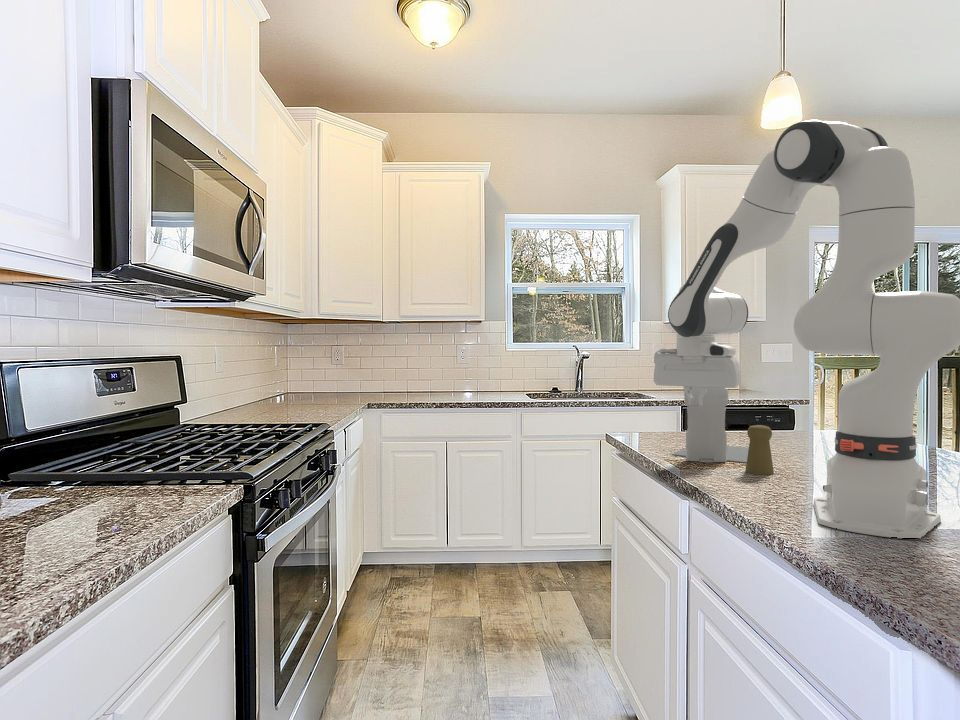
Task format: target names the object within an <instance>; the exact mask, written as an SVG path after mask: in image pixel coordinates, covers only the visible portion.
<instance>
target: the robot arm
mask: <svg viewBox="0 0 960 720" xmlns="http://www.w3.org/2000/svg"><path fill="white" fill-rule="evenodd" d="M751 177H752V178H751V179H750V181H749V183H748V185H747V187H746V189H745V192H744V194H743V195H742V198H741V200H740V202H739V205H738V206H737V208H736V209H735V211H734V212H733V214H732V215H731V216H730V218H729V219H728V220H727V221H726V222H724V224H723V225H721V226H720V227H719V228H717V229H716V231H715V232H714V233H713V235H712V236H711V237H710V239H709V241H708V242H707V244H706V246H705V247H704V250H703V251H702V253H701V254H700V256H699V258H698V260H697V261H696V263H695V265H694V267H693V269H692V271H691V273H690V274H689V276H688V277H687V279H686V281H685V283H684V284H683V285H682V286H680V288H679V291H678V293H677V294H676V295H675V296H674V298H672V300H671V302H670V305H669V307H668V310H667V311H668V312H667V318H668V321H669V324H670V326H671V328H672V329H673V330H674V331H675V333H676V348H668V349H667V348H660V349H659V350H657V351H656V352H655V353H654V354H653V362H654V369H653V383H654V384H655V385H656V386H662V387H664V386H667V387H670V386H671V387H683V392H685V394H686V395H687V397H688V398H689V405H698V406H702V405H703V397H704V396H705V394H706V393H707V387H719V388H725V389H736V388H738V387H739V386H741V381H742V380H741V378H742V377H741V368H740V363H739V361H738V359H737V358H736V357H735V355H736V351H737V350H736V347H734V346H732V345H727V344H724V343H722V342H717V341H716V336H718V335H733V334H738V333H740V332H741V331H742V330H743V328H745V326H746V325H747V322H748V320H749V308H748V307H749V306H748V303H747V302H746V300H745V299H744V298H743V297H742V296H741V295H739V294H736V293H731V292H728V291H725V290H721V288H718V287H717V284H718V283H719V281H720V279H721V277H722V276H723V274H724V272H725V271H726V269H727V267H729V266H730V264H731V263H733V262H734V261H736V260H737V259H738V258H741V257H742V256H746V255H747V254H749V253H752V252H756V251H758V250H762V249H765V248H768V247H770V246H772V245H775V244H776V243H778V242H780V241H781V240H782V239H783V238H784V237H785V235H786V234H787V233H788V231H789V230H790V229H791V227H792V224H793V222H794V220H795V219H796V216H797V214H798V212H799V209H800V208H801V205H802V203H803V201H804V198H806V197H805V196H806V195H807V194H808V193H809V191H811V189H812V188H814V187H816V186H818V185H819V186H826V187H834V188H835V190H836V191H837V194H838V201H839V202H838V203H839V204H838V241H837V252H836V260H835V263H834V267H833V269H832V271H831V274H830V275H829V277H828V279H827V281H826V282H825V283H824V284H823V286H822V287H821V288H819V290H818V291H817V292H816V293H815V294H814V295H813V296H812V297H810V298H809V299H807V300H805V302H804V303H802V305H800V307H799V309H798V310H797V311H796V314H795V315H794V316H795V317H794V319H793V331H794V335H795V338H796V341H797V342H798V343H799V344H800V346H802V347H803V348H804V349H805V350H806V351H809V352H814V353H815V352H816V353H819V354H824V355H831V356H876V357H879V358H880V359H879V364H878V366H877V367H876V368H875V369H874V370H872V371H869V372H866V373H864V374H861V375H859V376H856V377H855V378H852V379H850V380H848V381H847V382H846V383H844V384H843V386H842V387H841V388H840V390H839V392H838V404H837V405H838V406H837V407H838V415H837V416H838V417H837V418H838V421H837V425H838V427H837V429H838V430H836V431H835V437H834V451H835V452H836V453H835V454H834V455H833V456H832V457H831V458H829V459H827V461H826V484H825V483H824V484H823V485H822V491H823V492H825V493H826V497H825V496H823V497H815V498H813V507H814V510H815V516H816V519H817V523H818V524H820V525H822V526H825V527H829V528H833V529H836V528H837V530H840V531H841V530H842V531H847V532H852V533H856V534H863V535H870V536H877V537H885V538H891V537H897V538H896V539H902V538H920V539H922V538H923V537H924V536H926V535H927V534H928V533H929V532H930V531H931V530H933V528H935V527H936V526H937V525H938V524H939V523H941V521H942V520H941V515H940V513H937V512H934V511H930V510H928V508H927V507H928V505H929V494H928V492H927V489H928V488H929V483H928V480H927V470H926V469H925V468H923V466H921V465H920V464H919V463H918V462H917V460H916V459H915V458H916V456H917V444H918V443H917V439H916V436H915V435H914V434H913V433H914V432H913V430H914V412H915V401H916V396H917V392H918V389H919V386H920V383H921V381H922V379H923V378H924V377H925V374H926V373H927V372H928V371H929V370H930V369H931V367H933V365H935V363H937V362H938V361H939V360H940V359H942V358H943V357H944V356H946V355H947V354H949V353H951V352H953V351H954V350H955V349H957V348H958V347H959V346H960V298H959V297H958V296H956V295H955V294H951V293H944V292H938V291H936V292H935V291H925V290H913V291H912V290H911V291H895V292H894V291H893V292H891V291H890V292H872V286H873V283H874V281H875V280H876V279H877V278H879V277H881V276H883V275H885V274H887V273H890V272H892V271H893V270H896V269H897V268H899V267H901V266H902V265H904V264H905V263H906V262H908V261H909V260H910V258H911V257H912V256H913V254H914V250H915V226H916V225H915V224H916V223H915V220H916V219H915V217H916V216H915V213H916V212H915V210H916V209H915V208H916V206H915V205H916V204H915V189H914V182H913V181H914V180H913V179H914V178H913V175H912V169H911V166H910V162H909V159H908V156H907V155H906V153H905V152H903V151H902V150H900V149H898V148H894V147H891V146H889V145H888V143H887V141H886V139H885V138H884V136H882V135H881V134H880V133H878V132H877V131H875V130H873V129H870V128H868V127H860V126H856V125H852V124H848V123H847V122H842V121H829V120H828V121H827V120H824V121H823V120H819V119H808V120H804V121H803V120H802V121H799V122H796V123H793V124H792V125H790V126H788V127H787V128H786V129H785V130H783V132H782V133H781V135H780V136H779V138H778V139H777V141H776V143H775V146H774V150H771V151H769V152H768V153H767V154H766V155H765V156H764V157H763V159H762V160H761V162H760V164H759V166H758V167H757V168H756V170H755V171H754V173H753V175H752V176H751ZM692 387H699V391H702V392H701V394H700V395H699V397H698V398H693V396H692V394H691V392H690V391H691V390H692ZM934 526H935V527H934ZM928 531H929V532H928ZM927 532H928V533H927ZM926 533H927V534H926ZM922 536H923V537H922ZM921 537H922V538H921Z"/></svg>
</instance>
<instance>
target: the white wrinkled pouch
mask: <svg viewBox="0 0 960 720" xmlns="http://www.w3.org/2000/svg"><path fill="white" fill-rule="evenodd" d="M683 392H684V391H683ZM690 392H691V394H692V396H693V398H698V397H699V395H700V394H701V392H702V391H699V387H692V390H691V391H690ZM683 396H684V397H683V399H684V404H685V405H686V406H687V407H686V412H687V413H686V415H687V421H686V422H687V423H686V426H687V429H686V432H685V448H686V457H685V461H686V462H693V463H694V462H695V463H697V462H698V463H706V464H707V463H715V464H716V463H720V464H721V463H723V464H725V463H727V462H728V461H727V457H726V452H727V446H728V445H727V439H728V438H727V437H728V436H727V432H726V428H725V427H726V411H727V408H726V407H727V405H728V404H729V390H728V388H719V387H707V393H706V394H705V396H704V397H703V405H702V406H698V405H689V398H688V397H687V395H686V394H685V392H684V394H683Z"/></svg>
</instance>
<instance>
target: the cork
mask: <svg viewBox="0 0 960 720" xmlns="http://www.w3.org/2000/svg"><path fill="white" fill-rule="evenodd" d="M746 432H747V433H746V434H747V436H748V438H749V442H748V443H749V444H748V445H749V446H748V448H749V450H748V457H747V463H745V464H746V465H745V472H746V473H748V474H751V475H755V476H756V475H758V476H770V475H774V474H775V472H774V465H773V458H772V450H771V444H770V443H771V442H770V440H771V438H772V435H773V431H772V429H771V428H770V427H769V426H768V425H763V424H756V425H754V424H753V425H751V426H749V427H748V428H747V431H746Z"/></svg>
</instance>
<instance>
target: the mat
mask: <svg viewBox="0 0 960 720" xmlns="http://www.w3.org/2000/svg"><path fill="white" fill-rule="evenodd" d="M748 450H749V447H745V446H735V445H727V452H726V457H727V462H731V463H739V464H740V463H741V464H747V457H748ZM671 456H675V457H683V458H686V447H685V448H682V449H680V450H677V451H675V452H673V453H671Z"/></svg>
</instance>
